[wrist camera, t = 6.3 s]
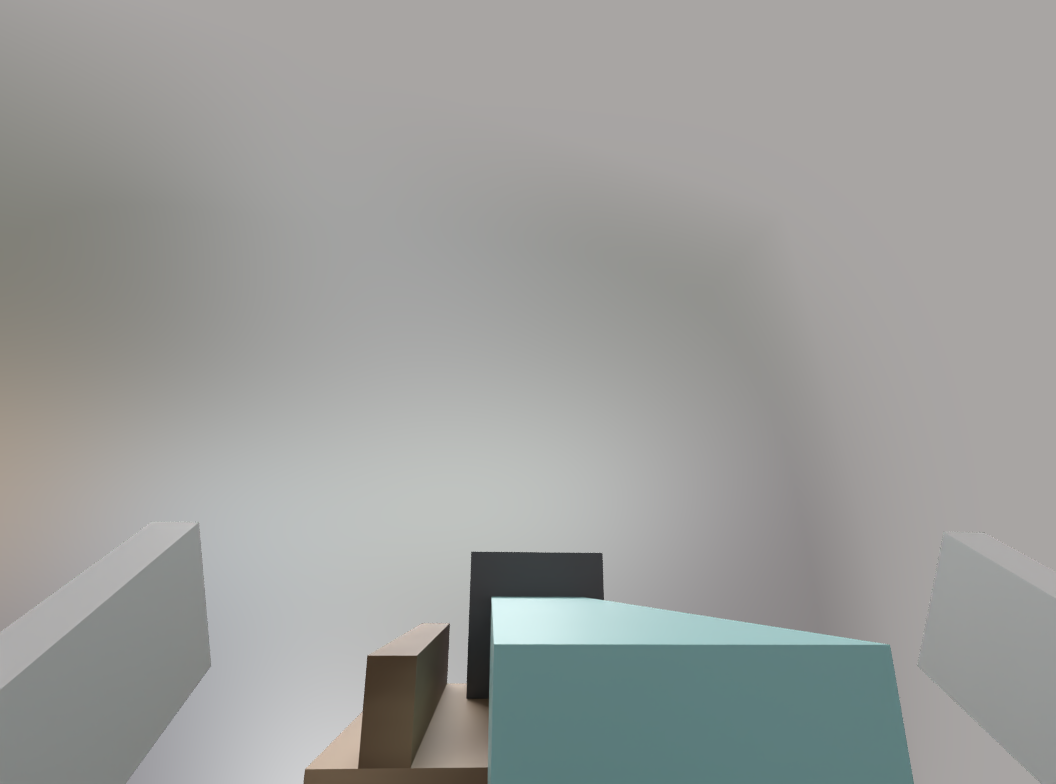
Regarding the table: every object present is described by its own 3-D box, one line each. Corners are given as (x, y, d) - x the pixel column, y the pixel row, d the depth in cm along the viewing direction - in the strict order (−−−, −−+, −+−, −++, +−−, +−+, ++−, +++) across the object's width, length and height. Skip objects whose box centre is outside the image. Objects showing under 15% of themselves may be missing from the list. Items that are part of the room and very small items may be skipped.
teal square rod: (357, 1224, 3) (411, 453, 5) (470, 677, 22) (474, 557, 24) (1094, 1183, 4) (939, 463, 5) (585, 676, 23) (582, 558, 24)
